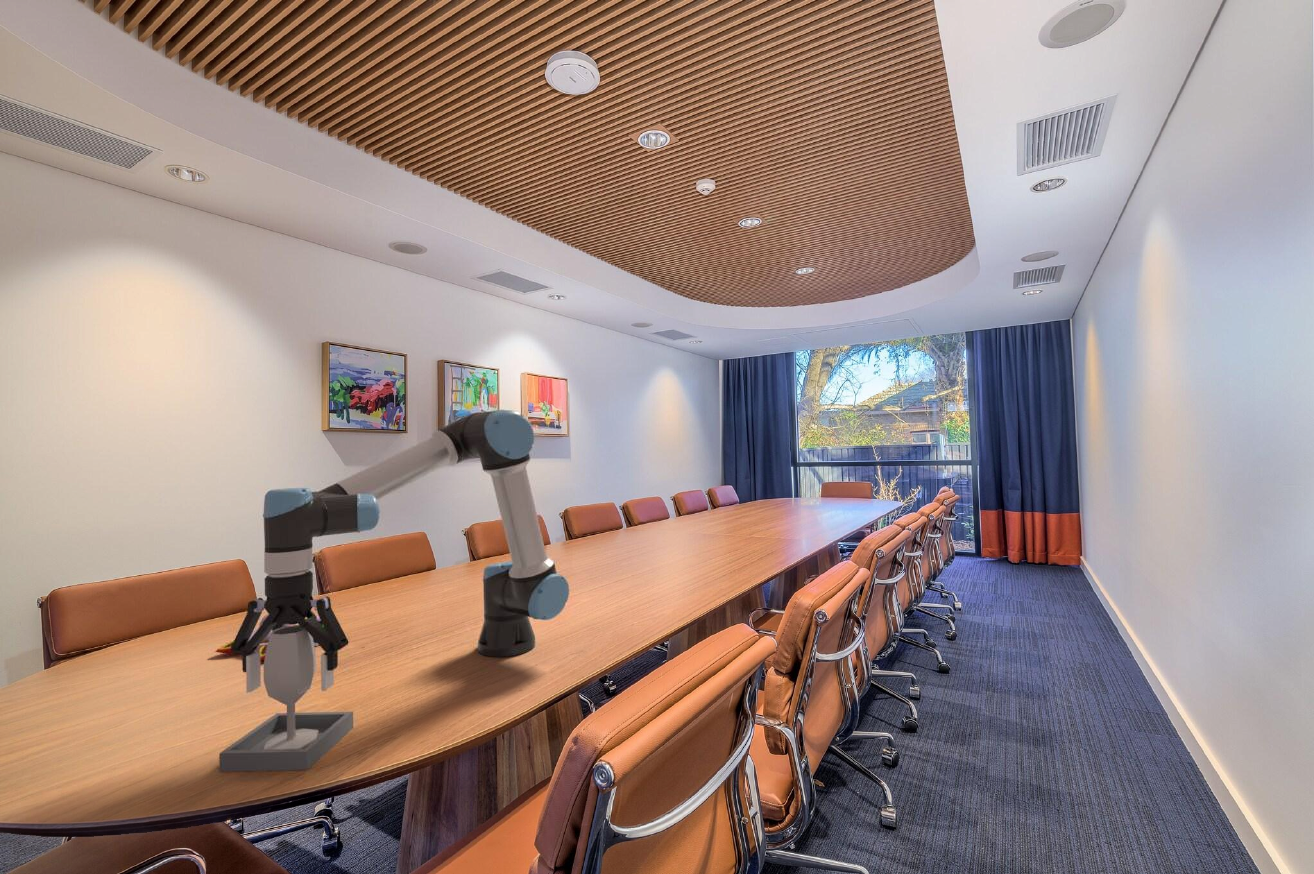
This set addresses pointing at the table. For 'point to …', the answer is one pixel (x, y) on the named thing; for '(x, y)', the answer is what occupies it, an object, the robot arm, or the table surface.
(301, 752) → the tray
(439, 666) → the table surface
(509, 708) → the table surface
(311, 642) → the wineglass
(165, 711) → the table surface
